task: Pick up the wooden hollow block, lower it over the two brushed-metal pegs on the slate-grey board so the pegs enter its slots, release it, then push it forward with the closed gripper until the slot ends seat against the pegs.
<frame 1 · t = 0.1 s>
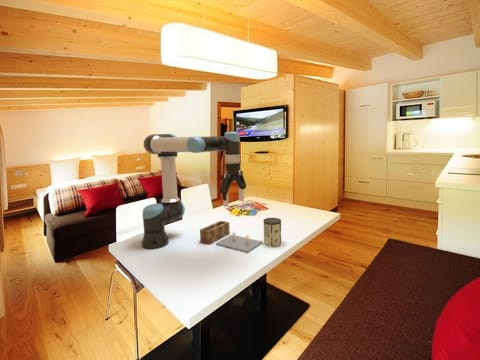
hand: (234, 203, 139), 28 cm above the table, fingers open, 13 cm apart
peg board: (239, 243, 158), on the table
wooden hollow block: (215, 238, 168), on the table
coffee can: (272, 243, 158), on the table
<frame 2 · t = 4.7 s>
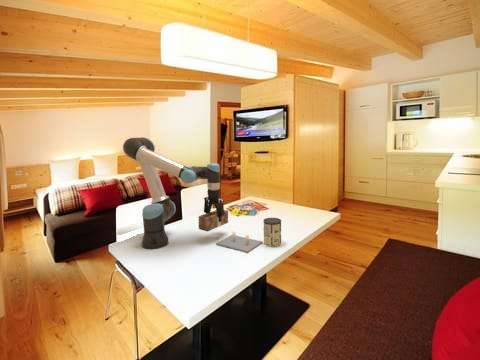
hand: (214, 225, 166), 8 cm above the table, fingers closed on wooden hollow block, 7 cm apart
wooden hollow block: (214, 225, 166), point 8 cm above the table, touching gripper
everything else where it was.
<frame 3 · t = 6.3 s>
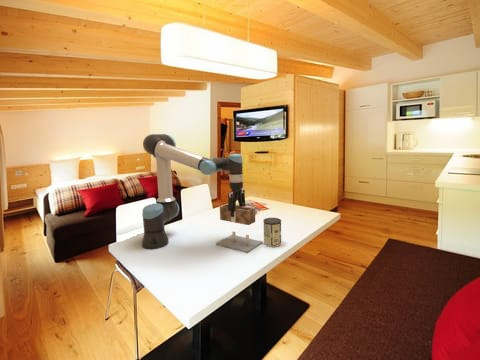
hand: (237, 220, 156), 14 cm above the table, fingers closed on wooden hollow block, 7 cm apart
wooden hollow block: (237, 220, 156), point 14 cm above the table, touching gripper
everything else where it was.
when the fingers open (2 cm above the table, at t = 8.4 s): wooden hollow block stays where it is, resting on peg board.
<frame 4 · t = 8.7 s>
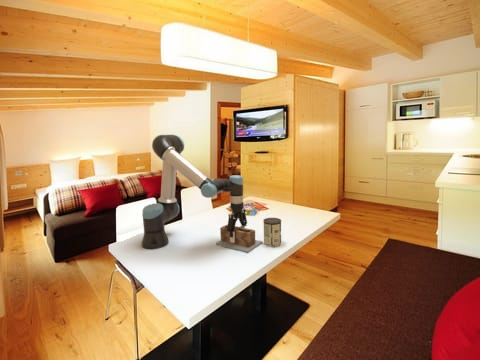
hand: (237, 239, 158), 3 cm above the table, fingers open, 10 cm apart
wooden hollow block: (237, 241, 158), point 1 cm above the table, touching peg board
everything else where it was.
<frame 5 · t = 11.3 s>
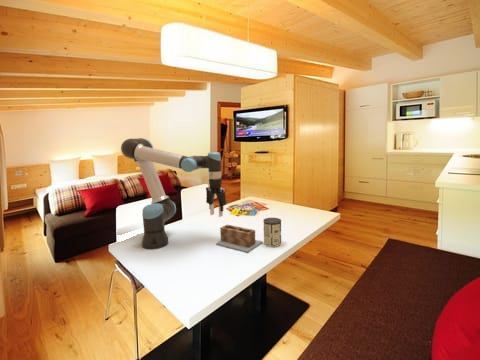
hand: (216, 215, 164), 15 cm above the table, fingers open, 6 cm apart
nothing on the table moved.
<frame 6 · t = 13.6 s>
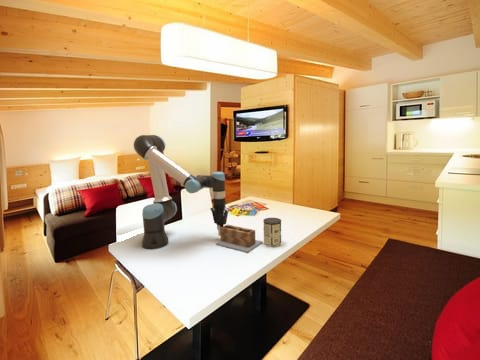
hand: (220, 235, 165), 3 cm above the table, fingers closed
wooden hollow block: (237, 241, 158), point 1 cm above the table, touching gripper, peg board
everything else where it was.
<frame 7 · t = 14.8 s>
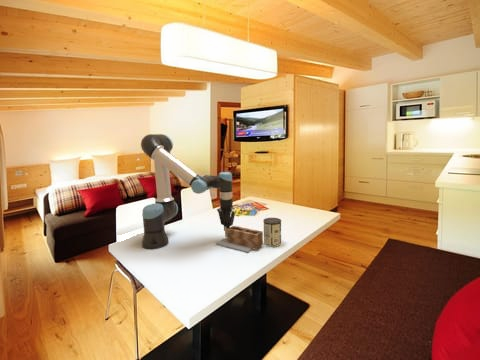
hand: (227, 236, 162), 3 cm above the table, fingers closed
wooden hollow block: (244, 243, 155), point 1 cm above the table, touching gripper, peg board
everything else where it was.
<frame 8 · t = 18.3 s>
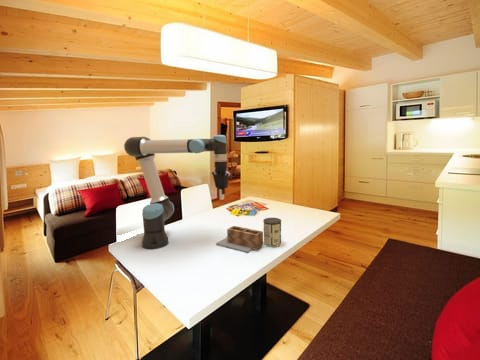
hand: (222, 199, 165), 24 cm above the table, fingers closed
wooden hollow block: (245, 243, 155), point 1 cm above the table, touching peg board
everything else where it was.
at the end: wooden hollow block 0.2 cm from the target spot on the peg board, point 1.0 cm above the peg board's base; wooden hollow block tilted 0°; the gripper is holding nothing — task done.
